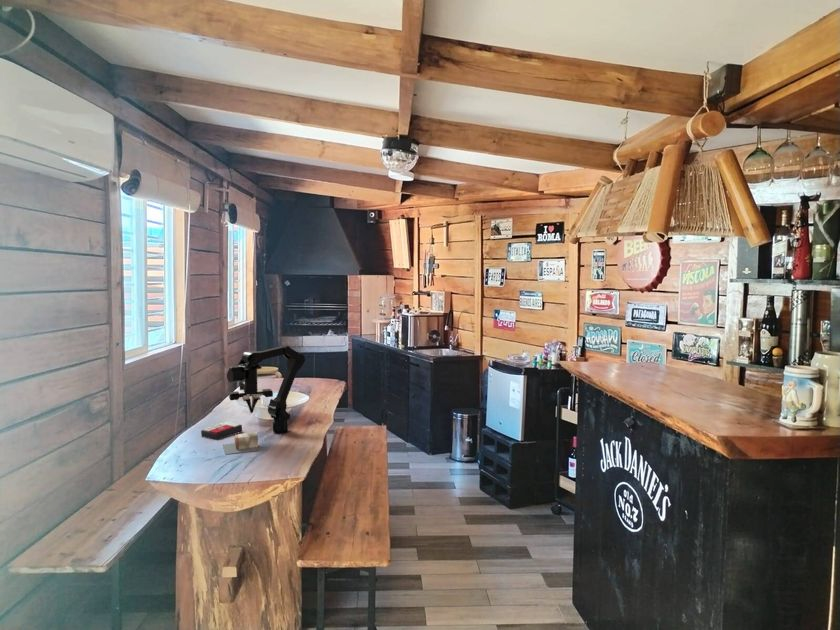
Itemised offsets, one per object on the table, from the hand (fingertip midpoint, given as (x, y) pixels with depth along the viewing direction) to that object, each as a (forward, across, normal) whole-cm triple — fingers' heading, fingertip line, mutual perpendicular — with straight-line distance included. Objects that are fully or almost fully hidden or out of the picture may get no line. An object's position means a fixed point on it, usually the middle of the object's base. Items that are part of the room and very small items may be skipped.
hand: (251, 412), depth 244 cm
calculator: (+13, +12, -14) cm, 22 cm away
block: (+9, -1, +12) cm, 15 cm away
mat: (+12, +6, +12) cm, 18 cm away
